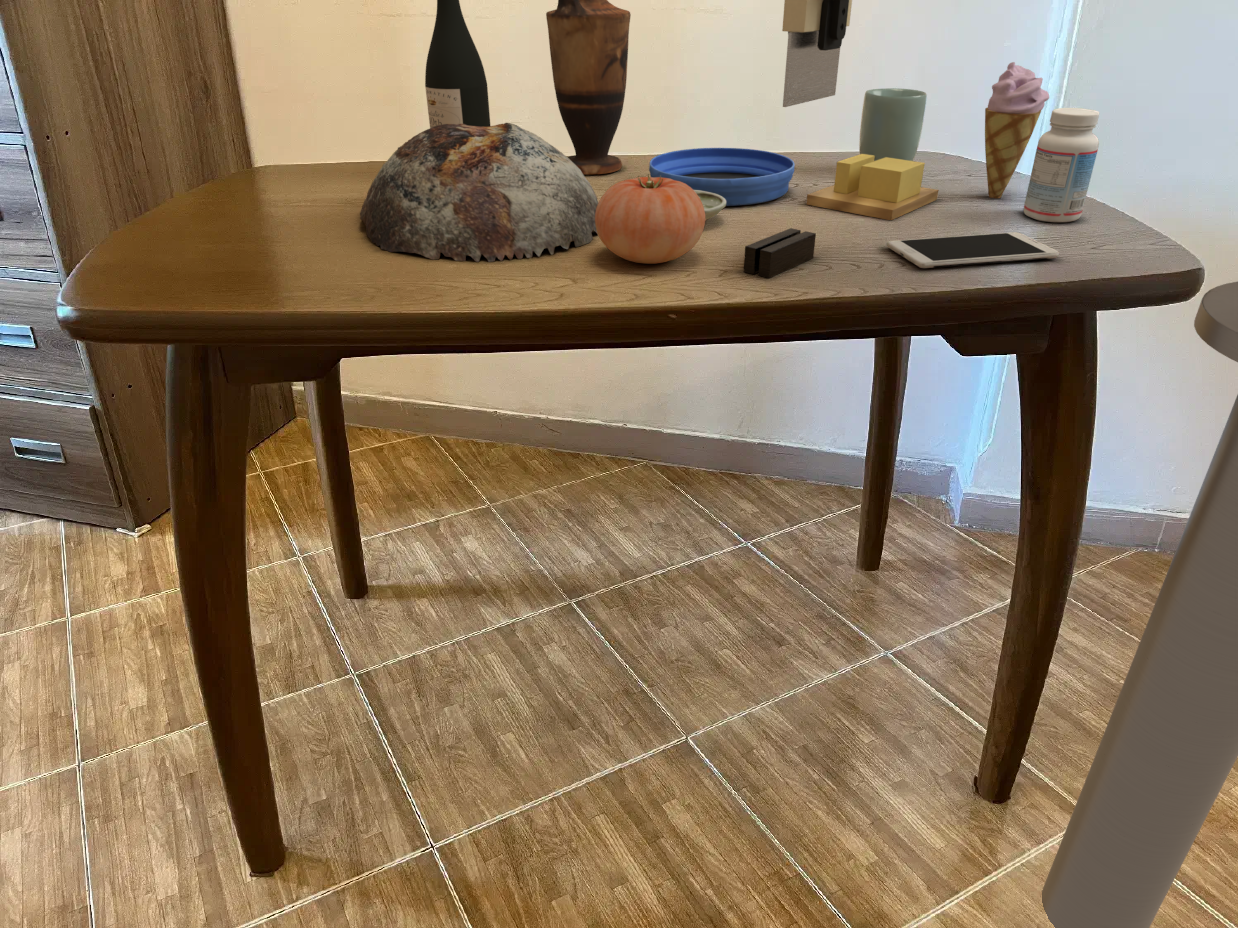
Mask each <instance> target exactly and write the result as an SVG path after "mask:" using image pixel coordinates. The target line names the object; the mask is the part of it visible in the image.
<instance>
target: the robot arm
mask: <svg viewBox="0 0 1238 928" xmlns="http://www.w3.org/2000/svg"><path fill="white" fill-rule="evenodd" d="M848 6H849V0H823V2H822V8H821V19H820V29H819V34H818V45H817V46H818V48H819V50H825V51H826V50H832V49H837V48H840V49H841V46H842V43H843V39H844V38H845V36H846V31H847V26H846V25H847V16H848ZM788 33H789V32H787V34H788Z"/></svg>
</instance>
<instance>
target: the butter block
mask: <svg viewBox="0 0 1238 928" xmlns="http://www.w3.org/2000/svg"><path fill="white" fill-rule="evenodd" d="M925 165H926V163H925V162H921V161H914V160H913V161H909V160H902V159H895V158H888V157H885V158H882V159H879V160H876V161H874V162H871V163H868V164H865V165H862V166H861V174H860V182H859V189H858V196H860V197H866V198H871V199H877V200H883V201H888V202H894V203H898V202H900V201H902V200H905V199H907V198H909V197H912V196H914V195H916V194H919V193H920V189H921V187H922V183H923V177H924V171H925V170H924V169H925Z"/></svg>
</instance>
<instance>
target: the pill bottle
mask: <svg viewBox="0 0 1238 928" xmlns="http://www.w3.org/2000/svg"><path fill="white" fill-rule="evenodd" d="M1099 118H1100V111H1098V110H1094V109H1089V108H1082V107H1059V108H1054V109H1053V110H1051V115H1050V119H1049V122H1050V123H1049V126H1050V130H1048V131H1046V132H1044V133H1043V134H1042V135H1041V136H1040V137H1039V139H1038V142H1037V146H1036V150H1035V155H1034V160H1033V164H1032V168H1031V173H1030V178H1029V183H1028V187H1027V191H1026V197H1025V201H1024V204H1023V213H1024V215H1026V216H1027V217H1029V218H1031V219H1034V220H1036V221H1041V222H1047V223H1071V222H1074V221H1077V220H1079V219H1080V218H1081V217H1082V213H1083V211H1084V206H1085V204H1086V203H1085V202H1086V198H1087V194H1088V190H1089V186H1090V182H1091V178H1092V174H1093V171H1094V166H1095V162H1096V159H1097V155H1098V151H1099V146H1100V140H1099V138H1098V137H1097V135H1096V134H1095V133H1093V129H1095V128H1096V127H1097V125H1098V122H1099Z"/></svg>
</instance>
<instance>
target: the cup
mask: <svg viewBox="0 0 1238 928" xmlns="http://www.w3.org/2000/svg"><path fill="white" fill-rule="evenodd" d="M927 99H928V94H927V93H926V92H925V91H922V90H917V89H912V88H911V89H910V88H873V89H868V90H866V91H865V92H864V95H863V102H862V108H861V118H860V126H859V140H858V150H859V155H860V154H867V155H874V156H875V157H874V161H876V160H879V159H882V158H885V157H888V158H895V159H902V160H909V161H914V160H915V157H916V155H917V153H918V148H919V145H920V141H921V138H922V137H921V136H922V132H923V126H924V120H925V114H926V108H927Z"/></svg>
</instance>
